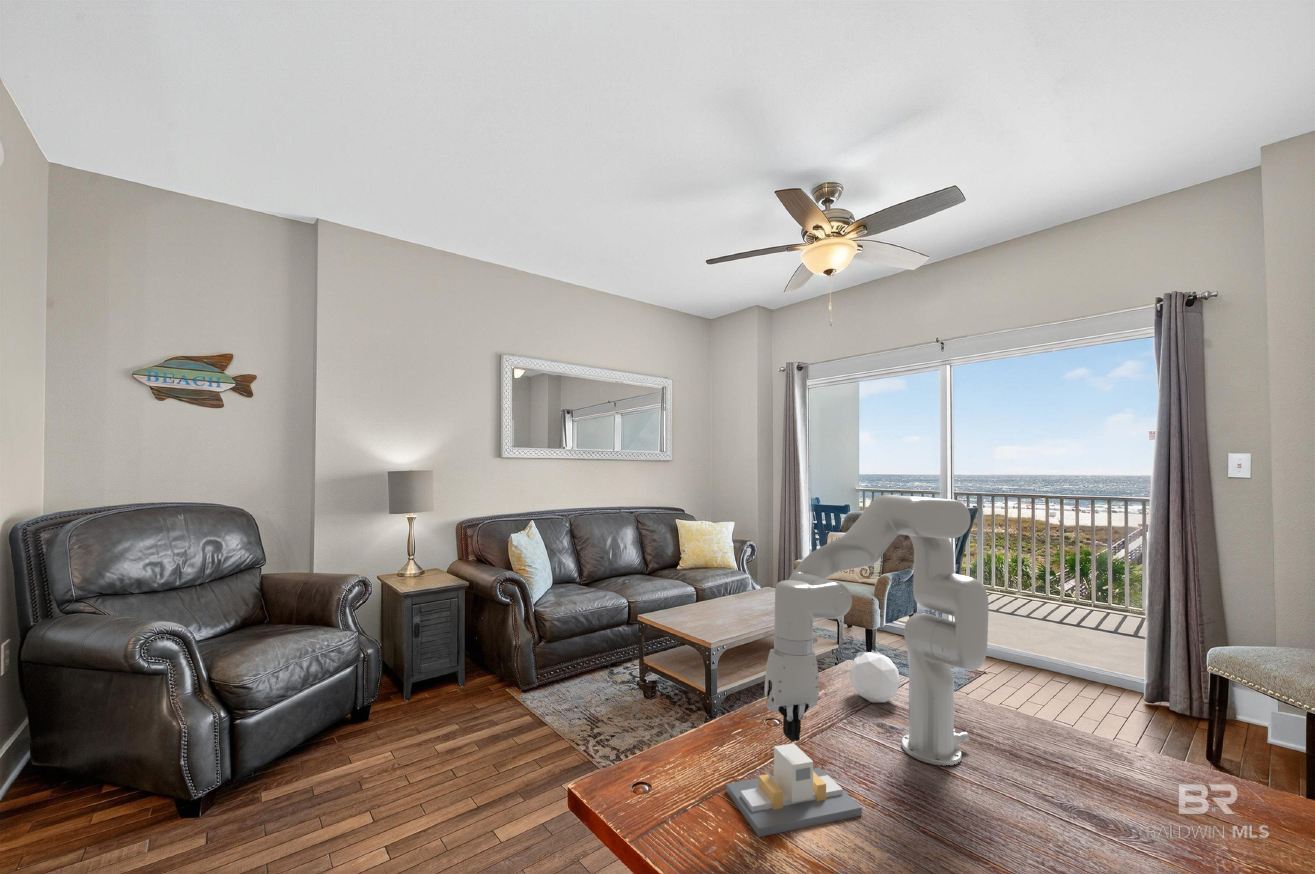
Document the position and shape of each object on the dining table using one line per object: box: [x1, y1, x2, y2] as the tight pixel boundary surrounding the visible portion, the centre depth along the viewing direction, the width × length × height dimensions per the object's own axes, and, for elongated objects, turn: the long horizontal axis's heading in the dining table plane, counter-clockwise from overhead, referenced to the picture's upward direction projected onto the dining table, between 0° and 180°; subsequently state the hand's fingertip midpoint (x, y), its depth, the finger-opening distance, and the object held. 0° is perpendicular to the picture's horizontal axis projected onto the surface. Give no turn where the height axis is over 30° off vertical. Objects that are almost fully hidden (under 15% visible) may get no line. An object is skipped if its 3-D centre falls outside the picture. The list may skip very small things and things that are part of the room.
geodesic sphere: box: [849, 649, 901, 703], centre depth 156 cm, size 14×14×14 cm
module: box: [773, 742, 814, 802], centre depth 108 cm, size 5×7×7 cm, turn 18°
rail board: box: [725, 767, 863, 838], centre depth 108 cm, size 22×14×4 cm, turn 107°
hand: (791, 737), depth 108 cm, fingers closed
